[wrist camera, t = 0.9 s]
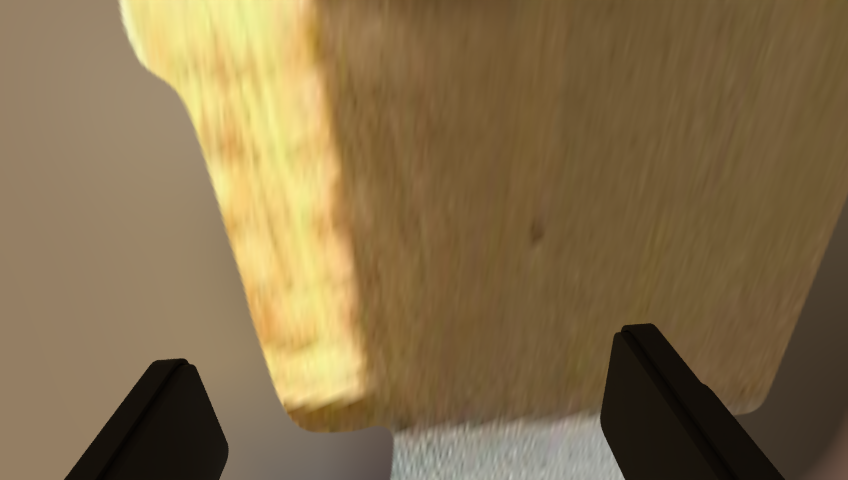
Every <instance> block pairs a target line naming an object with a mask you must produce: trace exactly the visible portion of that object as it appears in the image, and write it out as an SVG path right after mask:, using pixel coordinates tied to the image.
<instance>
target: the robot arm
mask: <svg viewBox="0 0 848 480" xmlns="http://www.w3.org/2000/svg"><path fill="white" fill-rule="evenodd" d="M600 421H601V427H602V431H603V433H604V436H605V438H606V440H607V442H608V444H609V446H610V448H611V451H612V453H613V455H614V457H615V459H616V461H617V463H618V465H619V468H620V470H621V472H622V474H623V476H624V478H625V480H785V479H784V478H783V477H782V475H781V474H780V473H779V472H778V470H777V469H776V468H775V467H774V466H773V464H772V463H771V462H770V461H769V459H768V458H767V457H766V456H765V455H764V453H763V452H762V451H761V450H760V449H759V448H758V446H757V445H756V444H755V442H754V441H753V440H752V439H751V437H750V436H749V435H748V434H747V433H746V431H745V430H744V429H743V428H742V427H741V425H740V424H739V423H738V422H737V420H736V419H735V418H734V417H733V415H732V414H731V413H730V412H729V411H728V409H727V408H726V407H725V406H724V404H723V403H722V402H721V401H720V400H719V398H718V397H717V396H716V395H715V393H714V392H713V391H712V390H711V389H710V388H709V387H708V386H706V385H705V384H703V383H701V382H700V381H699V379H698V378H697V377H696V376H695V374H694V373H693V372H692V371H691V369H690V368H689V367H688V366H687V364H686V363H685V362H684V361H683V359H682V358H681V357H680V356H679V354H678V353H677V352H676V351H675V350H674V348H673V347H672V346H671V345H670V343H669V342H668V341H667V340H666V338H665V337H664V336H663V335H662V333H661V332H660V331H659V330H658V328H657V327H656V326H655V325H653V324H651V323H648V324H635V325H625V326H623V328H622V330H621V332H618V333H616V334H615V335H614V339H613V345H612V350H611V356H610V362H609V368H608V374H607V380H606V386H605V392H604V398H603V404H602V409H601V415H600ZM227 458H228V443H227V441H226V438H225V436H224V434H223V431H222V429H221V426H220V424H219V422H218V419H217V417H216V415H215V412H214V410H213V407H212V405H211V402H210V400H209V397H208V395H207V393H206V390H205V388H204V385H203V383H202V381H201V378H200V376H199V373H198V371H197V369H196V367H195V366H194V365H192V364H189V363H188V361H187V360H186V359H181V358H180V359H168V360H157V361H155V362H153V363H152V364H151V365H150V366H149V367H148V369H147V370H146V371H145V373H144V374H143V376H142V377H141V378H140V379H139V381H138V382H137V383H136V385H135V386H134V387H133V389H132V390H131V391H130V393H129V394H128V396H127V397H126V398H125V399H124V401H123V402H122V403H121V405H120V406H119V407H118V409H117V410H116V411H115V413H114V414H113V415H112V417H111V418H110V419H109V421H108V422H107V423H106V425H105V426H104V427H103V429H102V430H101V431H100V433H99V434H98V435H97V437H96V438H95V439H94V441H93V442H92V443H91V445H90V446H89V447H88V449H87V450H86V451H85V453H84V454H83V455H82V457H81V458H80V459H79V461H78V462H77V463H76V465H75V466H74V467H73V469H72V470H71V471H70V473H69V474H68V475H67V476H66V478H65V479H64V480H219V479H220V476H221V474H222V471H223V469H224V467H225V464H226V461H227Z"/></svg>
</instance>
